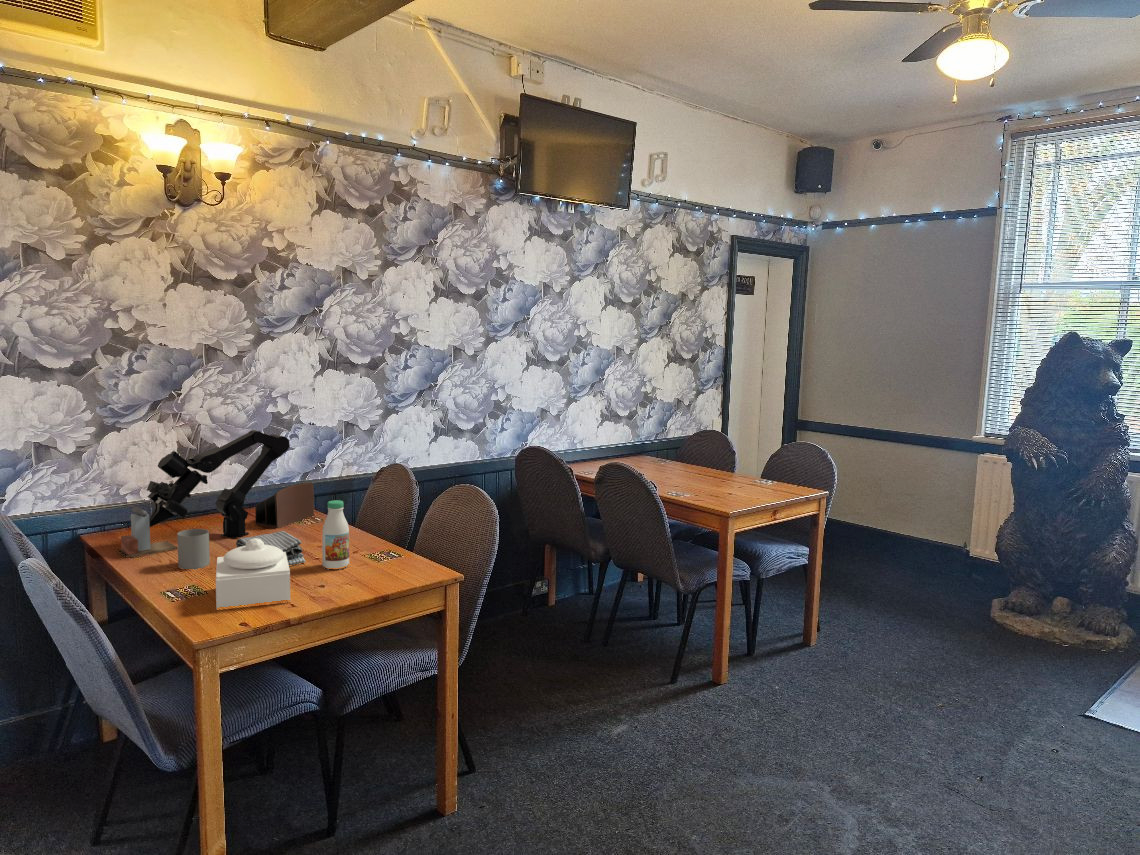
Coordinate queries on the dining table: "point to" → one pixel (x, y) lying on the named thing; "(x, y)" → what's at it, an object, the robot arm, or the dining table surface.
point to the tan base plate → (131, 549)
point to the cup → (193, 548)
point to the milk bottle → (335, 537)
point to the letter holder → (286, 506)
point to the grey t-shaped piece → (141, 528)
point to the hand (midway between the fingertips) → (148, 526)
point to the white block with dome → (252, 575)
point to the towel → (280, 545)
